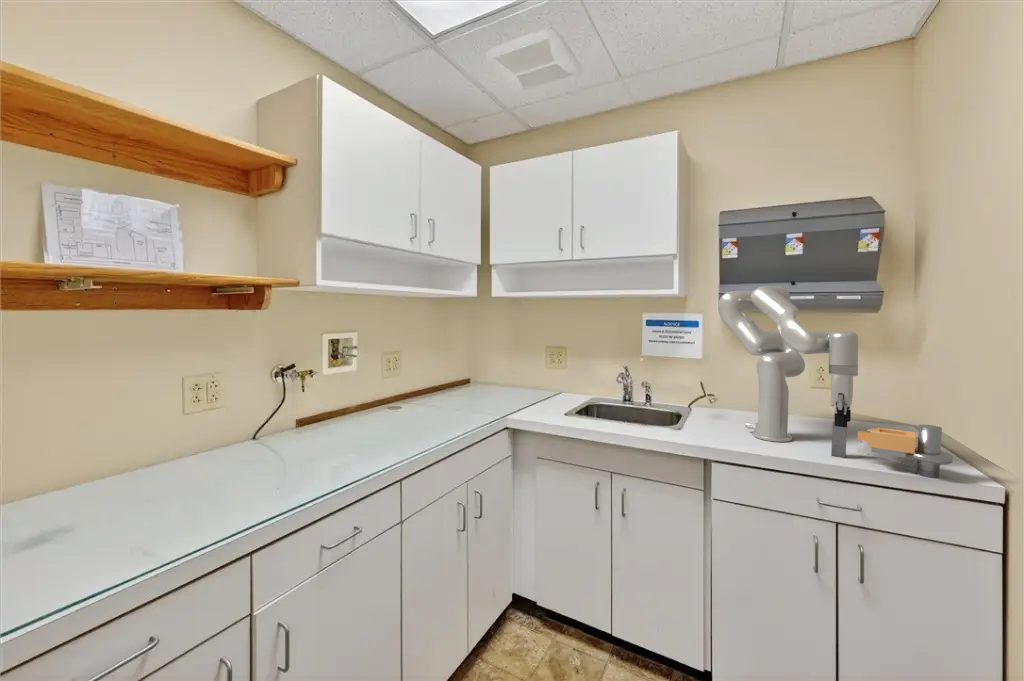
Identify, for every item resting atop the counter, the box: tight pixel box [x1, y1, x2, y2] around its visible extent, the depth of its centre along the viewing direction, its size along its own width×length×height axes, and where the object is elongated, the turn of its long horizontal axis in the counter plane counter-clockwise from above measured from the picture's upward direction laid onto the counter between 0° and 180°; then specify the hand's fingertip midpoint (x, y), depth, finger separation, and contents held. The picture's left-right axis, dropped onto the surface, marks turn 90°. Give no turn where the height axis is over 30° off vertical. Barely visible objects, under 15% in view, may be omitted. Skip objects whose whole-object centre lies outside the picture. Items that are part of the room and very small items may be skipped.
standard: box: [871, 424, 954, 479], centre depth 130 cm, size 18×10×14 cm, turn 48°
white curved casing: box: [857, 428, 918, 467], centre depth 143 cm, size 17×5×10 cm, turn 23°
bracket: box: [857, 426, 916, 454], centre depth 133 cm, size 13×8×4 cm, turn 48°
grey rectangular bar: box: [830, 420, 848, 459], centre depth 144 cm, size 4×2×11 cm, turn 48°
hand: (842, 423), depth 143 cm, fingers open, 9 cm apart
